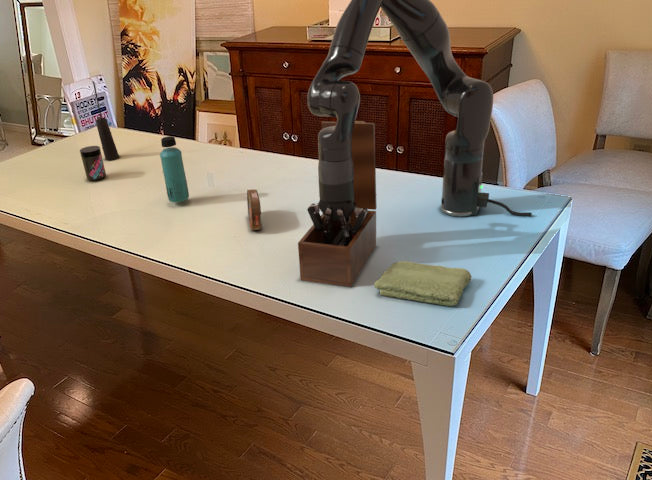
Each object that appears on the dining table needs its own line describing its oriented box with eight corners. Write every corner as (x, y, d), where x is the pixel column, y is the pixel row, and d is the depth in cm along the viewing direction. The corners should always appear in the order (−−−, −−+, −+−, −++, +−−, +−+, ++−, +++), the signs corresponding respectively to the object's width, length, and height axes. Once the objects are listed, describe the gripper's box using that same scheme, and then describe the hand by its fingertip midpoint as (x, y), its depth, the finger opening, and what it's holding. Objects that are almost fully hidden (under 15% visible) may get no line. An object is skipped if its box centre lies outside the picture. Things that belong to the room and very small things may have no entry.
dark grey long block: (342, 245, 150) (341, 228, 148) (355, 246, 149) (355, 229, 147) (320, 275, 139) (319, 256, 137) (334, 277, 138) (334, 258, 135)
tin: (247, 213, 175) (244, 185, 170) (258, 211, 175) (255, 183, 170) (252, 236, 162) (248, 206, 158) (264, 234, 162) (261, 204, 158)
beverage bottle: (194, 199, 187) (183, 134, 177) (183, 208, 182) (171, 141, 172) (175, 198, 190) (164, 133, 180) (164, 206, 185) (151, 140, 175)
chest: (351, 287, 135) (350, 248, 130) (300, 280, 140) (297, 242, 135) (376, 246, 150) (376, 210, 145) (329, 241, 155) (328, 206, 150)
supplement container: (86, 183, 209) (79, 153, 204) (87, 177, 215) (79, 147, 210) (106, 180, 210) (99, 150, 205) (106, 173, 216) (100, 144, 210)
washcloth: (393, 267, 141) (393, 254, 139) (472, 280, 132) (474, 267, 131) (371, 295, 131) (371, 282, 130) (456, 312, 123) (457, 298, 121)
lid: (373, 124, 132) (380, 114, 136) (321, 122, 137) (329, 113, 141) (375, 209, 145) (381, 199, 148) (327, 205, 149) (334, 195, 153)
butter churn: (97, 156, 234) (79, 79, 220) (122, 151, 236) (106, 75, 221) (98, 163, 227) (79, 84, 212) (124, 159, 228) (107, 80, 214)
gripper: (299, 181, 134) (303, 252, 142) (362, 185, 128) (363, 259, 137) (311, 168, 139) (315, 238, 148) (373, 172, 133) (373, 244, 142)
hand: (338, 248), depth 142 cm, fingers open, 3 cm apart
